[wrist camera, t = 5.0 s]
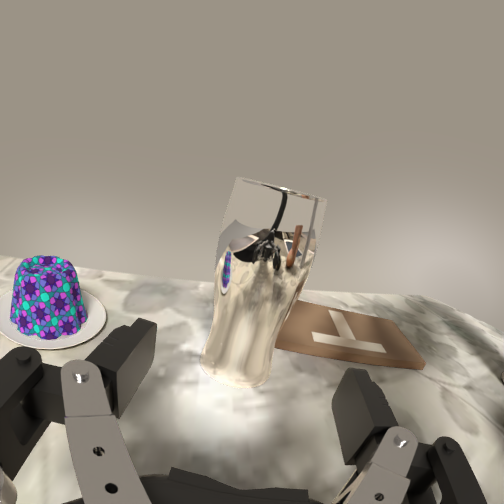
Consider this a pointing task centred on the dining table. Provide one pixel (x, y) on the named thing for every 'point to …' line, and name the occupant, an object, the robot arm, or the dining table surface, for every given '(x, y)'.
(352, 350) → the board
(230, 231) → the beer glass
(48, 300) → the pudding
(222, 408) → the dining table surface
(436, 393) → the dining table surface
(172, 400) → the dining table surface
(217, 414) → the dining table surface
